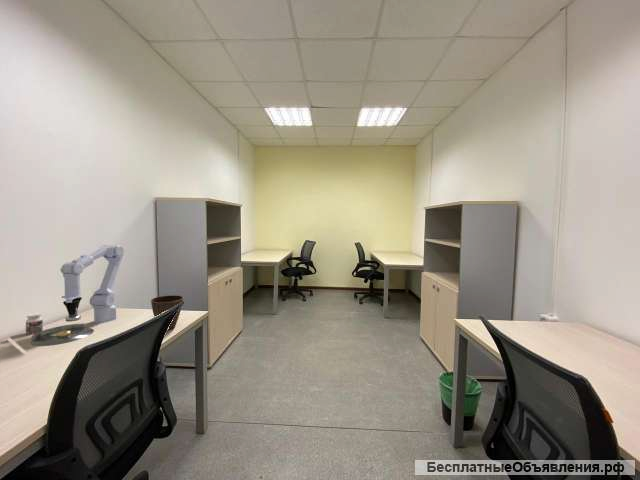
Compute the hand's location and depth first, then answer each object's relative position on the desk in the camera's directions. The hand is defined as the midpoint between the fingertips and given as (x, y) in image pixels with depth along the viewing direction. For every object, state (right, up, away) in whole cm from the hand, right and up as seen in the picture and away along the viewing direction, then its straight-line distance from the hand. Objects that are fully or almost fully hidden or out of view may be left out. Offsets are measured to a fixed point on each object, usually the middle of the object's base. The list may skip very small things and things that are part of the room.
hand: (73, 313), depth 133 cm
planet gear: (0, -3, 0) cm, 3 cm away
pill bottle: (-19, -10, 0) cm, 22 cm away
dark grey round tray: (-1, -11, -4) cm, 11 cm away
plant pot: (+41, -11, +11) cm, 44 cm away
